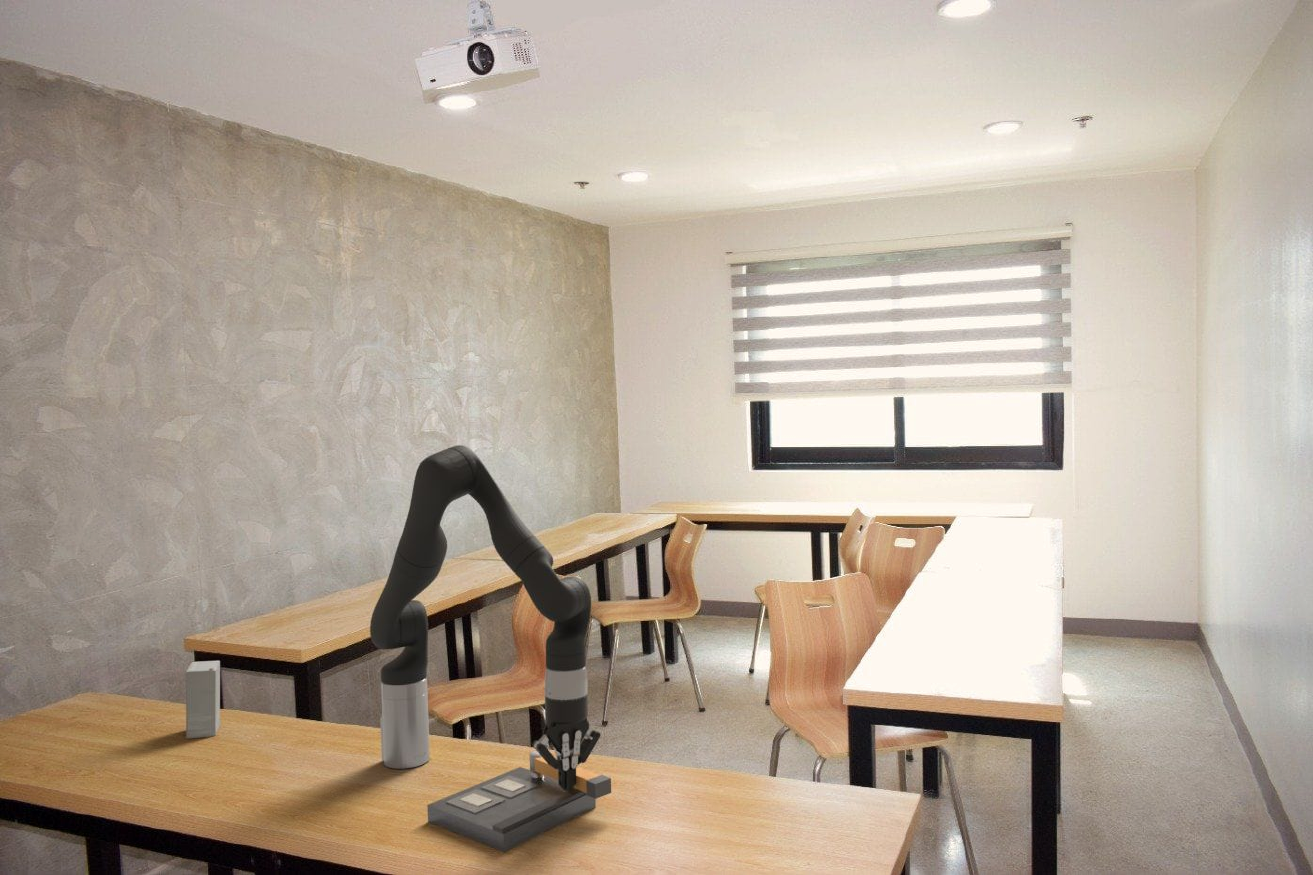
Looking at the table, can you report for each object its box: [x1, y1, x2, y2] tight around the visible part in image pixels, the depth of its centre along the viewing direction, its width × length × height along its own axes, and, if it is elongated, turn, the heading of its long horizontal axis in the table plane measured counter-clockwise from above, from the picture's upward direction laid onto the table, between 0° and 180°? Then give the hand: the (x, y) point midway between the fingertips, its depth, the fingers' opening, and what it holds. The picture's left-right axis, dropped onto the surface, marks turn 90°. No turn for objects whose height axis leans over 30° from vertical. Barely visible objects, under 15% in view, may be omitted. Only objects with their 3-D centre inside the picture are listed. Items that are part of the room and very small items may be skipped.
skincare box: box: [185, 660, 221, 740], centre depth 224 cm, size 8×7×16 cm
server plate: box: [426, 766, 597, 853], centre depth 173 cm, size 20×22×4 cm
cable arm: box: [528, 750, 612, 800], centre depth 177 cm, size 4×21×3 cm, turn 43°
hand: (567, 788), depth 171 cm, fingers closed
